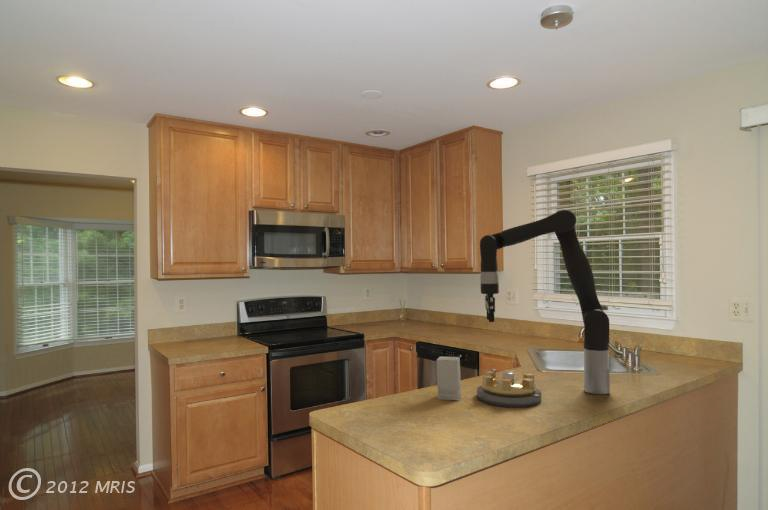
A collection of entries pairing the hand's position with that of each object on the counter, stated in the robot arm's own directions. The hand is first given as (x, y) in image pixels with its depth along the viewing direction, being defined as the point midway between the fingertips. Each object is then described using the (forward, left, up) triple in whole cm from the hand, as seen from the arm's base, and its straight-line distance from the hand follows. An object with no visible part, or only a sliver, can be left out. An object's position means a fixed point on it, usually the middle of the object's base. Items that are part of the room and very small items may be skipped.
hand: (490, 320), depth 211 cm
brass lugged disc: (-8, +17, -24) cm, 31 cm away
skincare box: (+14, +23, -28) cm, 39 cm away
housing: (-8, +17, -28) cm, 34 cm away
